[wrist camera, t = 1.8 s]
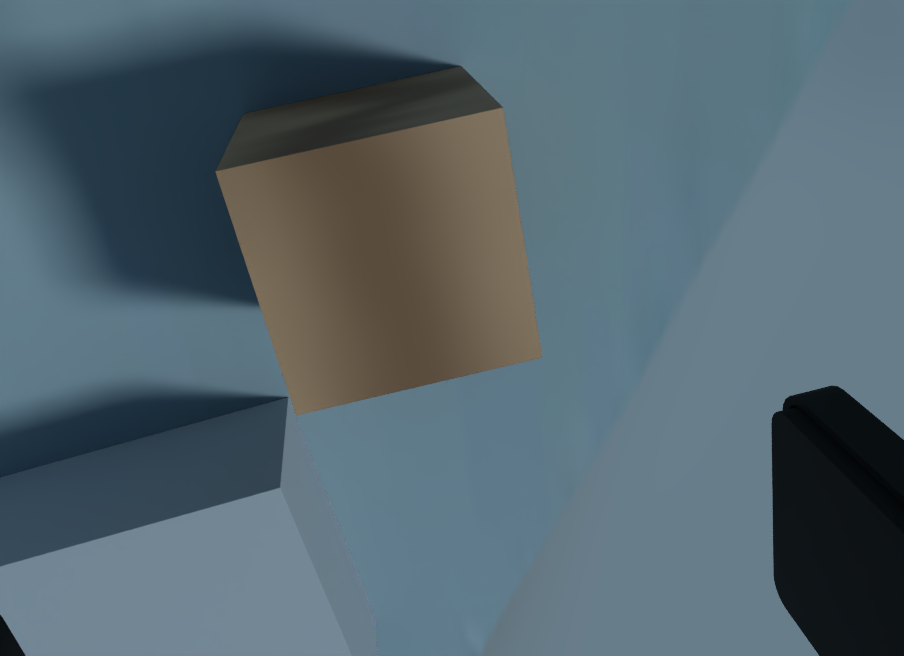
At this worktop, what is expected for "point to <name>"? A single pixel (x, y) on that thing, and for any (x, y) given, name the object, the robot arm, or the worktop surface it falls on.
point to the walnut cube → (383, 237)
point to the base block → (182, 548)
